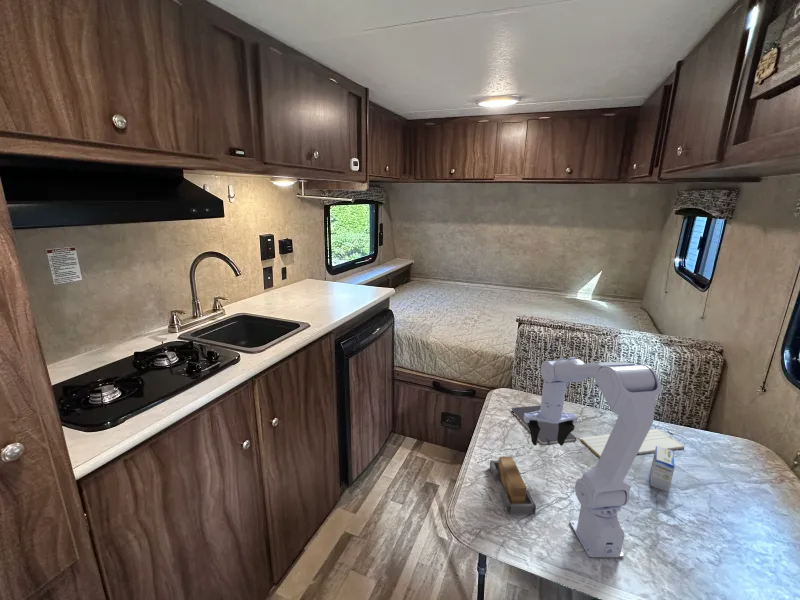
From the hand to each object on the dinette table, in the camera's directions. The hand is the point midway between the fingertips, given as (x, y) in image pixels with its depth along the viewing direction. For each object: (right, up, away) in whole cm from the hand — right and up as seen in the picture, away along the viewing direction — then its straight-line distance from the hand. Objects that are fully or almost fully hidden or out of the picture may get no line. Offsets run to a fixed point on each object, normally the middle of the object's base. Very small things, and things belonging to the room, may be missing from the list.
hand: (546, 443), depth 104 cm
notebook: (+8, -4, +26) cm, 28 cm away
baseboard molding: (+34, -7, +17) cm, 39 cm away
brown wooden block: (-12, -10, -5) cm, 16 cm away
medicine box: (+32, -11, -1) cm, 34 cm away
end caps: (-12, -11, -5) cm, 17 cm away
